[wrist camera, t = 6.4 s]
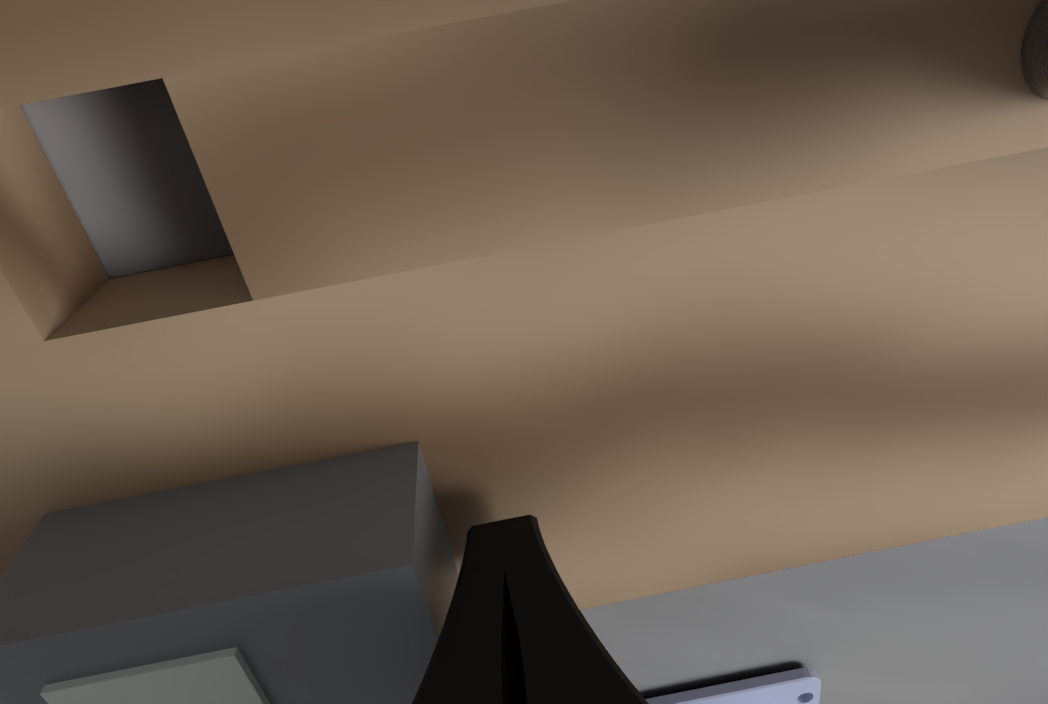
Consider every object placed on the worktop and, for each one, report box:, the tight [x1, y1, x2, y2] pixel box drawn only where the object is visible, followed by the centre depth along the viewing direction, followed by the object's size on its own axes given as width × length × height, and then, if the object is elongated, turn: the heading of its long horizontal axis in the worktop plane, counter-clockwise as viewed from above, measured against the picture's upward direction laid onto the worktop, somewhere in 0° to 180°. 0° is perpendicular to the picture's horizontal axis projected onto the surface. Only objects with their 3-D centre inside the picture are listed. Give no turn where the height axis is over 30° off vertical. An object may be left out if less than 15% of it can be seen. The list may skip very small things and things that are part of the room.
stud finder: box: [0, 441, 459, 704], centre depth 12 cm, size 5×7×3 cm
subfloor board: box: [0, 0, 1048, 610], centre depth 13 cm, size 15×26×2 cm, turn 99°
